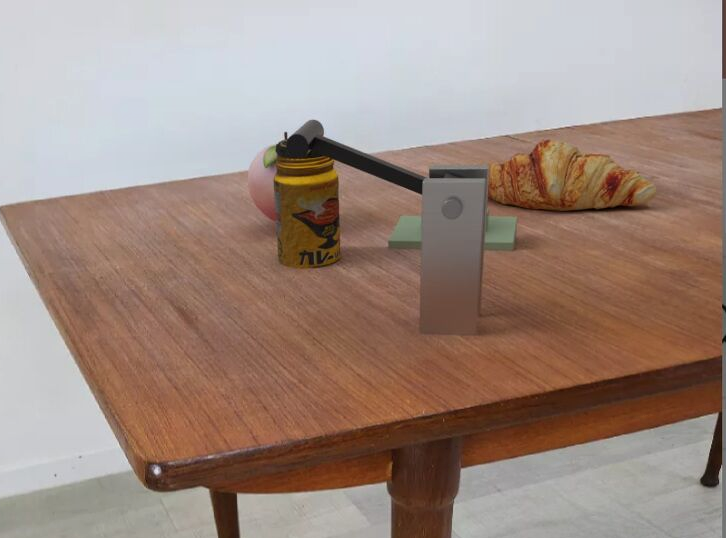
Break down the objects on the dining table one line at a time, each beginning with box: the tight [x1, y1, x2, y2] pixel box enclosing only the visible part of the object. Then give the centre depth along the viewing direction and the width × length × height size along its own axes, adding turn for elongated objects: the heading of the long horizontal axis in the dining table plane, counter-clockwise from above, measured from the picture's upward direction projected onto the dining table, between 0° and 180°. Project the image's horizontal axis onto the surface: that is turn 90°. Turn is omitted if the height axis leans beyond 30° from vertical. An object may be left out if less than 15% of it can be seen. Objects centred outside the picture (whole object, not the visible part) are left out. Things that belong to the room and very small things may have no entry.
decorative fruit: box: [247, 131, 288, 223], centre depth 102 cm, size 9×8×10 cm
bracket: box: [418, 164, 489, 337], centre depth 72 cm, size 10×8×13 cm
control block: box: [387, 206, 518, 251], centre depth 94 cm, size 12×9×4 cm
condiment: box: [274, 138, 342, 269], centre depth 89 cm, size 7×8×12 cm
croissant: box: [488, 139, 658, 212], centre depth 106 cm, size 21×10×8 cm, turn 66°
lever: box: [286, 119, 458, 196], centre depth 70 cm, size 14×6×2 cm, turn 77°
